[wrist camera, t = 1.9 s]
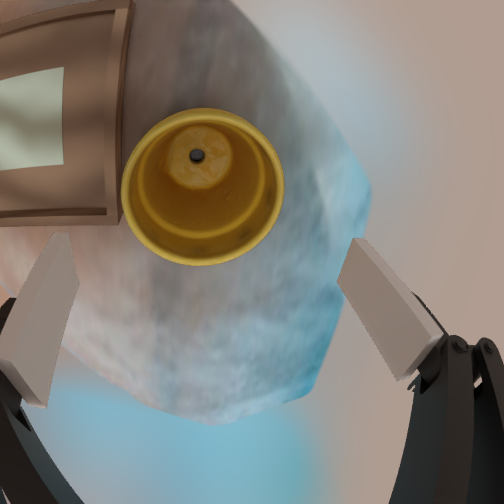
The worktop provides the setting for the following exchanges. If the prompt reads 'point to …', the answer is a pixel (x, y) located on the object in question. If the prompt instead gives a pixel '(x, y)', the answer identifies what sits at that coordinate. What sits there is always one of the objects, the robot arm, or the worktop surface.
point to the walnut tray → (63, 115)
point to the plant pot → (202, 187)
